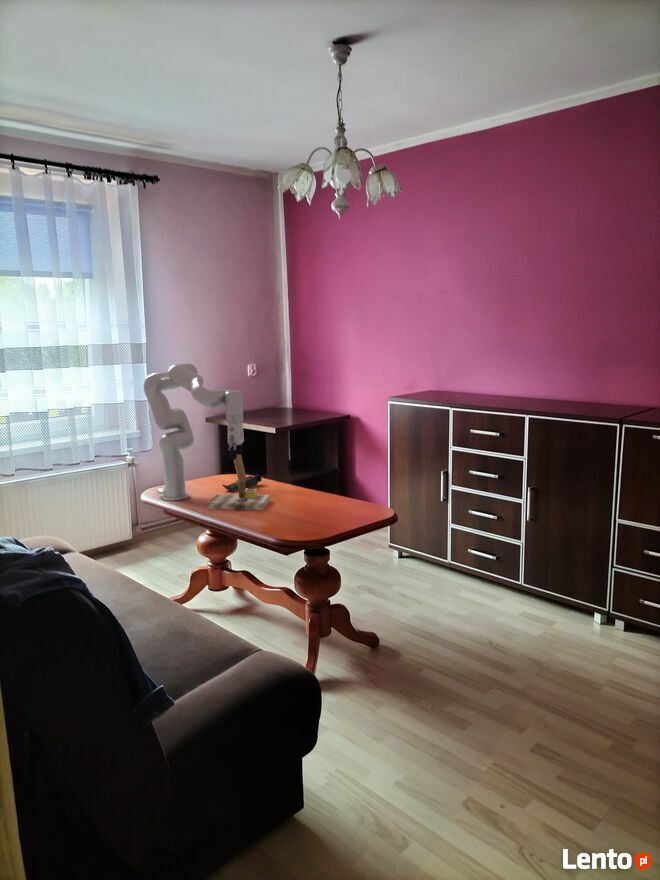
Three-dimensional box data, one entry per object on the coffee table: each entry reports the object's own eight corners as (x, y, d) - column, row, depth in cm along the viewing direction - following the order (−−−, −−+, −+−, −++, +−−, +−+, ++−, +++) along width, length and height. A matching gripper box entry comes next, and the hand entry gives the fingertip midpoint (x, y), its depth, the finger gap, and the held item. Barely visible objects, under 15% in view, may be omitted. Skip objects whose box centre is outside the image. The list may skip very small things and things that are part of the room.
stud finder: (241, 498, 292) (241, 491, 291) (244, 495, 297) (244, 488, 296) (254, 498, 291) (254, 491, 290) (257, 495, 296) (256, 488, 295)
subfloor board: (206, 510, 285) (206, 503, 284) (218, 499, 301) (217, 493, 301) (261, 510, 281) (261, 504, 281) (270, 500, 298) (270, 494, 298)
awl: (238, 508, 287) (237, 481, 285) (240, 506, 290) (239, 480, 288) (245, 508, 286) (243, 481, 284) (246, 506, 289) (245, 480, 287)
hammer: (229, 497, 314) (216, 439, 306) (224, 495, 318) (211, 438, 309) (262, 482, 327) (250, 426, 318) (256, 480, 330) (244, 425, 322)
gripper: (237, 422, 274) (238, 461, 277) (247, 415, 291) (249, 452, 294) (220, 421, 275) (221, 460, 278) (231, 415, 292) (233, 452, 295)
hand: (235, 456), depth 286 cm, fingers open, 9 cm apart
